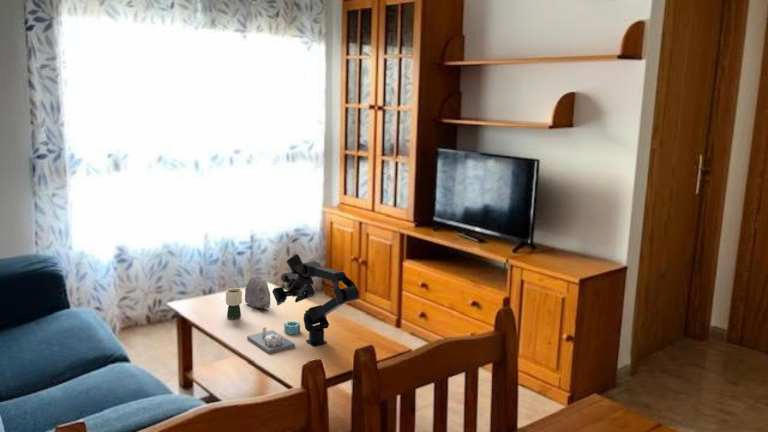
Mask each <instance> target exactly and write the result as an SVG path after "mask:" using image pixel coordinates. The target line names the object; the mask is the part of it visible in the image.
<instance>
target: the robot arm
mask: <svg viewBox="0 0 768 432" xmlns="http://www.w3.org/2000/svg"><path fill="white" fill-rule="evenodd" d="M286 264H287V266H288V268H289V270H290V272H285V273H282V275H281V276H280V280H281V282H283V283H285V284H287V285H286V287H287V289H288V290H286V291H285V289H284V287H283V286H278V287H274V288H273V289H272V291H271V292H272V294H273V297H274V299H275V301H276V305H277V306H280V305H282V304H283V303H285V302H286V300H287V298H288V297H293V298H294V297H295V300H294V302H295V303H299V302H302V301H304V300H306V299H310V298H313V297H314V296H315V294H316V290H315V289H314V286H313V285H314V280H313V277H316V278H320V279H323V280H327V281H330V282H331V283H332V285H333V287H332V288H333V290H332V291H333V293H334V296H333V297H332V298H331V299H330V300H328V301H326V302H325V303H324V304H323V305H322V304H319V305H315V306H311V307H309V308H308V309H307V310H304V311H305V313H304V315H303V322H304V327H305V330H306V331H307V332H308V339H307V340H305V341H306V343H308V344H309V345H311V346H313V347H319V346H321V345H325V344H328V341H326V340H325V329H328V328H329V326H330V323H329V321H328V320H327V319H328V318H327V316H328V315H329V314H331V313H332V312H334V311H335V310H337V309H338V308H340V307H342V306H343V305H344V304H347V303H351V302H355V301H358V300H359V298H360V297H359V296H360V291H359V289H358V287H357V286H356V284H355V282H354V281H352V279H350V278H349V277H348V276H347V275H346V274H345V271H340V270H336V269H333V268H332V269H331V268H329V267H324V266H322V265H321V263H319V262H317V261H315V260H313V261H308V262H303V261H302V259H301V258H300V255H299V254H293V256H292V257H289V258H288V259H287V260H286ZM340 282H341V283H342V284H344V285H345V286H346V287H343V288H340V285H339V283H340Z"/></svg>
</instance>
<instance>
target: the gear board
mask: <svg viewBox="0 0 768 432" xmlns="http://www.w3.org/2000/svg"><path fill="white" fill-rule="evenodd" d="M246 338H247V341H248V342H251V344H254V345H255V346H256V347H258V348H259V349H261V350H263V351H264V352H266V353H267V354H270V355H271V354H274V353H277V352H281V351H285V350H286V351H287V350H288V349H293V348H296V345H295V343H294V342H293V341H291V340H290V339H288V338H286V337H284V336H283V335H282V334H279V333H278V332H277V331H275V330H274V329H272V330H267V326H262V330H261V332H258V333H254V334H251V335H247V337H246Z"/></svg>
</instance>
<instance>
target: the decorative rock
mask: <svg viewBox="0 0 768 432" xmlns="http://www.w3.org/2000/svg"><path fill="white" fill-rule="evenodd" d="M244 302H245V303H246V304H248V305H249V306H250V307H252V308H253V309H258V308H259V309H270V307H271V292H270V289H269V285H268V283H267V282H266V280H265V279H264V278H263V277H261V276H260V275H259V276H258V275H256V276H254V277H253V276H252V277H251V278H250V279H249V280H248V282H247V284H246V286H245V289H244Z"/></svg>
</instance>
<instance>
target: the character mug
mask: <svg viewBox="0 0 768 432" xmlns="http://www.w3.org/2000/svg"><path fill="white" fill-rule="evenodd" d="M242 296H243V289H241V288H237V287H232V288H231V287H230V288H227V289H226V290H225V304H226V305H227V306H228V308H227V313H226V314H227V315H226V317H227V318H228V319H238V318H239V319H240V318H241V317H242V312H241V307H240V305H241V304H242V303H243V298H242Z"/></svg>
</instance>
